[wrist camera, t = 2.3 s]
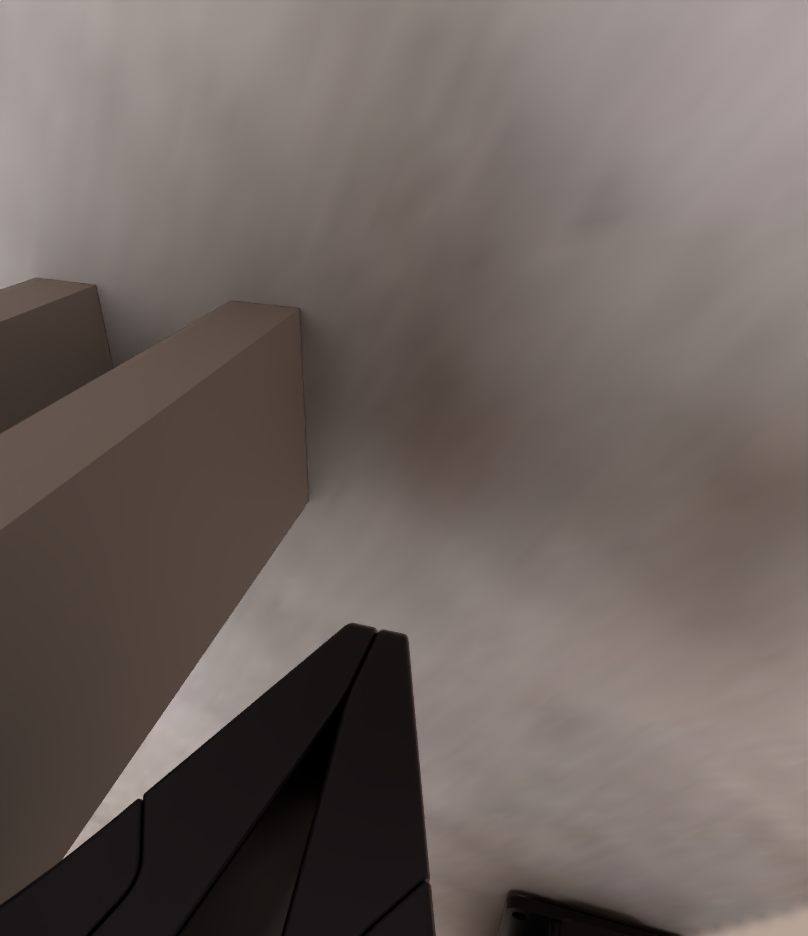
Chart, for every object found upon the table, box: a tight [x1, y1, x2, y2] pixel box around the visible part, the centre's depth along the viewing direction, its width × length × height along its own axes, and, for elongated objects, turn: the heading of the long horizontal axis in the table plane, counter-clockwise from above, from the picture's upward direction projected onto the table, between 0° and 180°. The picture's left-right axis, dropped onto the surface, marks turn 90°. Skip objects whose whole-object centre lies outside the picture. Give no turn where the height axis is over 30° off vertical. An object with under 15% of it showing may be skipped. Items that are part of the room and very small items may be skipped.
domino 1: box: [0, 301, 309, 905], centre depth 11 cm, size 2×5×10 cm, turn 178°
